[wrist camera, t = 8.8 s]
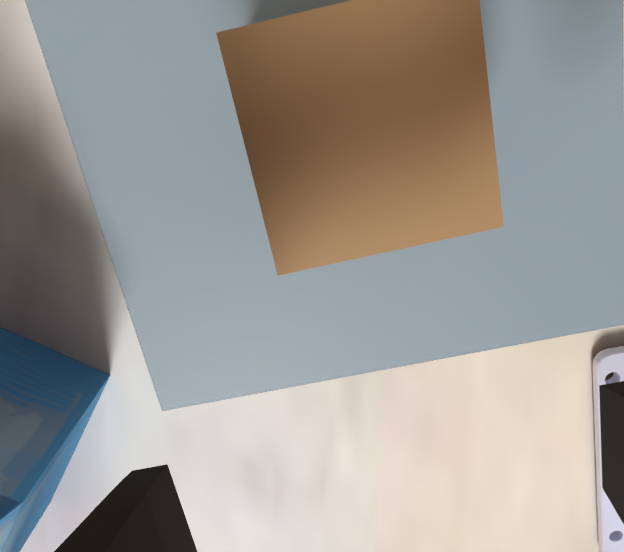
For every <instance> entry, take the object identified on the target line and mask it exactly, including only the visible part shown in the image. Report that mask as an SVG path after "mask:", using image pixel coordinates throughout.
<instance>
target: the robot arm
mask: <svg viewBox="0 0 624 552" xmlns="http://www.w3.org/2000/svg"><path fill="white" fill-rule="evenodd" d="M592 366H593V395H594V424H595V452H596V481H597V510H598V539H599V552H624V346H619V347H614V348H608V349H605V350H602V351H600V352H599V353H598V354H596V356H595V357H594V359H593V364H592ZM612 372H614V374H613V376H612V377H611V378H610V379H608V380H605V378H606V376H607V375H608V374H609V373H612ZM614 531H615V532H614ZM612 532H613V533H612ZM54 552H197V550H196V547H195V544H194V541H193V538H192V535H191V532H190V529H189V526H188V524H187V521H186V518H185V515H184V512H183V509H182V506H181V503H180V500H179V497H178V494H177V491H176V489H175V486H174V483H173V480H172V477H171V474H170V471H169V468H168V465H162V466H156V467H151V468H145V469H140V470H135V471H132V472H131V473H130V474H128V475H127V476H126V477H125V478H124V479H123V480H122V481H121V482H120V483H119V484H118V485H117V486H116V487H115V488H114V489H113V490H112V491H111V492H110V493H109V494H108V495H107V496H106V498H105V499H104V500H103V501H102V502H101V503H100V504H99V505H98V506H97V507H96V508H95V509H94V510H93V511H92V512H91V513H90V514H89V516H88V517H87V518H86V519H85V520H84V521H83V522H82V523H81V524H80V525H79V526H78V527H77V528H76V529H75V530H74V531H73V533H72V534H71V535H70V536H69V537H68V538H67V539H66V540H65V541H64V542H63V543H62V544H61V545H60V546H59V547H58V548H57V549H56V550H55V551H54Z"/></svg>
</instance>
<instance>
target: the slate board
mask: <svg viewBox="0 0 624 552" xmlns="http://www.w3.org/2000/svg"><path fill="white" fill-rule="evenodd" d="M346 1H350V0H25V2H26V5H27V8H28V11H29V14H30V17H31V20H32V23H33V26H34V29H35V32H36V35H37V38H38V41H39V44H40V47H41V50H42V53H43V56H44V59H45V62H46V65H47V68H48V71H49V74H50V77H51V80H52V83H53V86H54V89H55V92H56V95H57V98H58V101H59V104H60V107H61V110H62V113H63V116H64V119H65V122H66V125H67V128H68V131H69V134H70V137H71V140H72V143H73V146H74V149H75V152H76V155H77V158H78V161H79V164H80V167H81V170H82V173H83V176H84V179H85V182H86V185H87V188H88V191H89V193H90V196H91V199H92V202H93V205H94V208H95V211H96V214H97V217H98V220H99V223H100V226H101V229H102V232H103V235H104V238H105V241H106V244H107V247H108V250H109V253H110V256H111V259H112V262H113V265H114V268H115V271H116V274H117V277H118V280H119V283H120V286H121V289H122V292H123V295H124V298H125V301H126V304H127V307H128V310H129V313H130V316H131V319H132V322H133V325H134V328H135V331H136V334H137V337H138V340H139V343H140V346H141V349H142V352H143V355H144V358H145V361H146V364H147V367H148V370H149V373H150V376H151V379H152V382H153V385H154V388H155V391H156V394H157V397H158V400H159V403H160V406H161V409H162V411H166V410H171V409H177V408H182V407H187V406H193V405H198V404H203V403H209V402H214V401H219V400H225V399H230V398H235V397H241V396H246V395H251V394H257V393H262V392H267V391H273V390H278V389H283V388H289V387H294V386H299V385H305V384H310V383H315V382H321V381H326V380H331V379H337V378H342V377H347V376H353V375H358V374H363V373H369V372H374V371H379V370H385V369H390V368H395V367H401V366H406V365H411V364H417V363H422V362H427V361H433V360H438V359H443V358H449V357H454V356H459V355H465V354H470V353H475V352H481V351H486V350H491V349H497V348H502V347H507V346H513V345H518V344H523V343H529V342H534V341H539V340H545V339H550V338H555V337H561V336H566V335H571V334H577V333H582V332H587V331H593V330H598V329H603V328H609V327H614V326H619V325H624V59H623V0H480V9H481V19H482V28H483V37H484V47H485V56H486V65H487V75H488V84H489V93H490V103H491V112H492V121H493V131H494V140H495V149H496V159H497V168H498V177H499V187H500V196H501V205H502V215H503V224H504V227H501V228H496V229H492V230H487V231H482V232H478V233H473V234H468V235H464V236H459V237H455V238H450V239H445V240H441V241H436V242H431V243H427V244H422V245H417V246H413V247H408V248H404V249H399V250H394V251H390V252H385V253H380V254H376V255H371V256H367V257H362V258H357V259H353V260H348V261H343V262H339V263H334V264H330V265H325V266H320V267H316V268H311V269H306V270H302V271H297V272H293V273H288V274H283V275H279V276H278V275H277V271H276V267H275V263H274V259H273V255H272V251H271V247H270V243H269V239H268V235H267V232H266V228H265V224H264V220H263V216H262V212H261V208H260V204H259V200H258V196H257V192H256V188H255V184H254V180H253V176H252V172H251V168H250V165H249V161H248V157H247V153H246V149H245V145H244V141H243V137H242V133H241V129H240V125H239V121H238V117H237V113H236V109H235V105H234V101H233V98H232V94H231V90H230V86H229V82H228V78H227V74H226V70H225V66H224V62H223V58H222V54H221V50H220V46H219V42H218V38H217V34H216V33H217V32H221V31H225V30H229V29H233V28H238V27H242V26H246V25H250V24H254V23H258V22H263V21H267V20H271V19H275V18H279V17H283V16H288V15H292V14H296V13H300V12H304V11H308V10H313V9H317V8H321V7H325V6H329V5H333V4H338V3H342V2H346Z"/></svg>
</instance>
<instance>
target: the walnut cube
mask: <svg viewBox="0 0 624 552" xmlns="http://www.w3.org/2000/svg"><path fill="white" fill-rule="evenodd" d="M216 34H217V38H218V42H219V46H220V50H221V54H222V58H223V62H224V66H225V70H226V74H227V78H228V82H229V86H230V90H231V94H232V98H233V101H234V105H235V109H236V113H237V117H238V121H239V125H240V129H241V133H242V137H243V141H244V145H245V149H246V153H247V157H248V161H249V165H250V168H251V172H252V176H253V180H254V184H255V188H256V192H257V196H258V200H259V204H260V208H261V212H262V216H263V220H264V224H265V228H266V232H267V235H268V239H269V243H270V247H271V251H272V255H273V259H274V263H275V267H276V271H277V275H278V276H279V275H283V274H288V273H293V272H297V271H302V270H306V269H311V268H316V267H320V266H325V265H330V264H334V263H339V262H343V261H348V260H353V259H357V258H362V257H367V256H371V255H376V254H380V253H385V252H390V251H394V250H399V249H404V248H408V247H413V246H417V245H422V244H427V243H431V242H436V241H441V240H445V239H450V238H455V237H459V236H464V235H468V234H473V233H478V232H482V231H487V230H492V229H496V228H501V227H504V224H503V215H502V205H501V196H500V187H499V177H498V168H497V159H496V149H495V140H494V131H493V121H492V112H491V103H490V93H489V84H488V75H487V65H486V56H485V47H484V37H483V28H482V19H481V9H480V0H350V1H346V2H342V3H338V4H333V5H329V6H325V7H321V8H317V9H313V10H308V11H304V12H300V13H296V14H292V15H288V16H283V17H279V18H275V19H271V20H267V21H263V22H258V23H254V24H250V25H246V26H242V27H238V28H233V29H229V30H225V31H221V32H217V33H216Z"/></svg>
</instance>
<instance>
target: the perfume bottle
mask: <svg viewBox="0 0 624 552" xmlns="http://www.w3.org/2000/svg"><path fill="white" fill-rule="evenodd" d="M109 377H110V375H108V374H106V373H104V372H102V371H99V370H97V369H95V368H92V367H90V366H88V365H86V364H83V363H81V362H79V361H77V360H74V359H72V358H70V357H67V356H65V355H63V354H61V353H58V352H56V351H54V350H51V349H49V348H47V347H45V346H42V345H40V344H38V343H35V342H33V341H31V340H29V339H26V338H24V337H22V336H20V335H17V334H15V333H13V332H10V331H8V330H6V329H4V328H1V327H0V552H20V550H21V549H22V547H23V545H24V544H25V542H26V540H27V539H28V537H29V536H30V534H31V532H32V531H33V529H34V528H35V526H36V524H37V523H38V521H39V519H40V518H41V516H42V515H43V513H44V511H45V510H46V508H47V507H48V505H49V503H50V501H51V499H52V497H53V495H54V493H55V491H56V489H57V486H58V484H59V482H60V480H61V478H62V476H63V474H64V472H65V470H66V467H67V465H68V463H69V461H70V459H71V457H72V455H73V453H74V451H75V448H76V446H77V444H78V442H79V440H80V438H81V436H82V434H83V432H84V429H85V427H86V425H87V423H88V421H89V419H90V417H91V415H92V413H93V410H94V408H95V406H96V404H97V402H98V400H99V398H100V396H101V394H102V391H103V389H104V387H105V385H106V383H107V381H108V379H109Z"/></svg>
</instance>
